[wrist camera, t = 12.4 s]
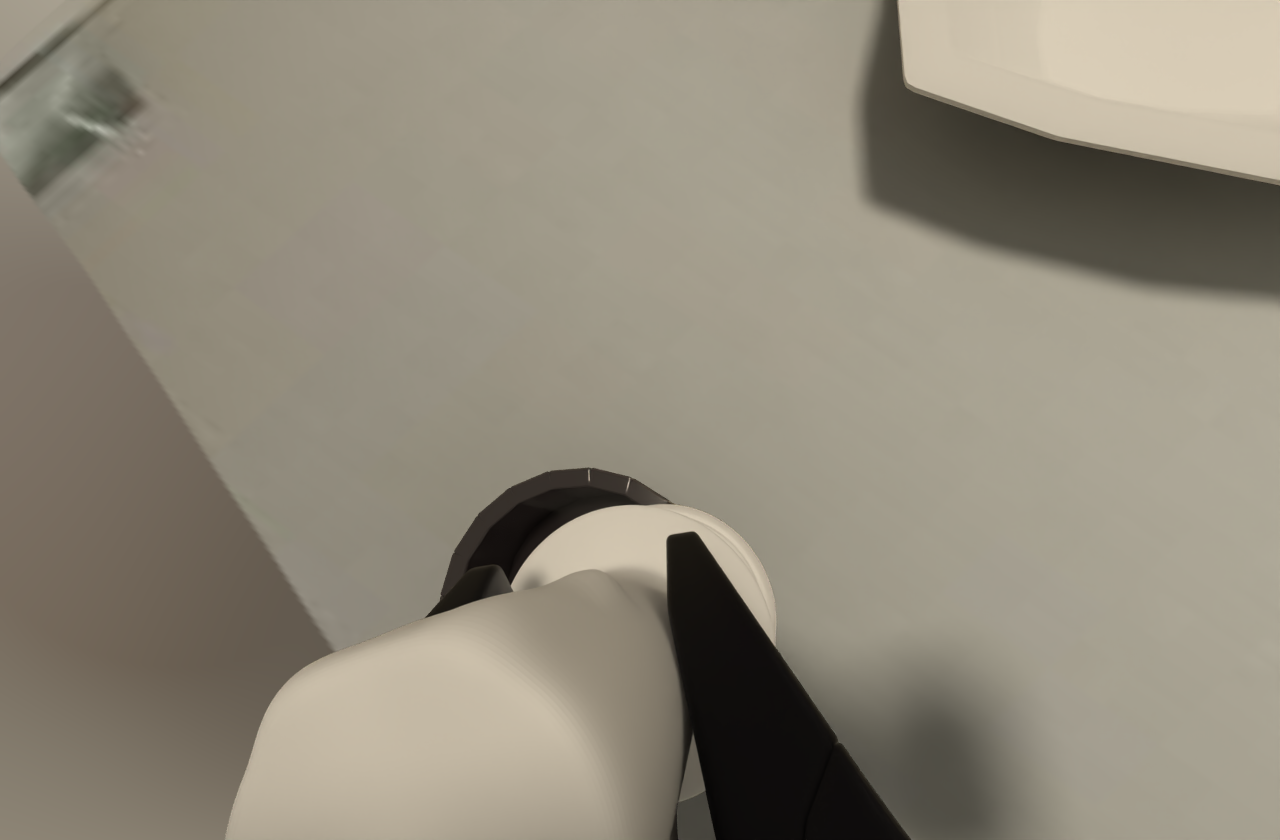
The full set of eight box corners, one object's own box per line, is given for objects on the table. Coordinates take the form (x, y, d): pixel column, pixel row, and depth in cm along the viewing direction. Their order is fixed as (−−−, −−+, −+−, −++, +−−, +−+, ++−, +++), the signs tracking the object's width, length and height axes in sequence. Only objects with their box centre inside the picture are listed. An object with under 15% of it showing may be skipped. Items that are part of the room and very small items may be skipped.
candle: (643, 781, 13) (6, 2483, 2) (521, 589, 15) (-288, 760, 3) (824, 640, 13) (1467, 1319, 2) (684, 462, 15) (500, 153, 3)
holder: (641, 773, 19) (616, 841, 15) (455, 630, 21) (386, 653, 17) (765, 561, 20) (776, 568, 16) (576, 442, 22) (539, 418, 18)
